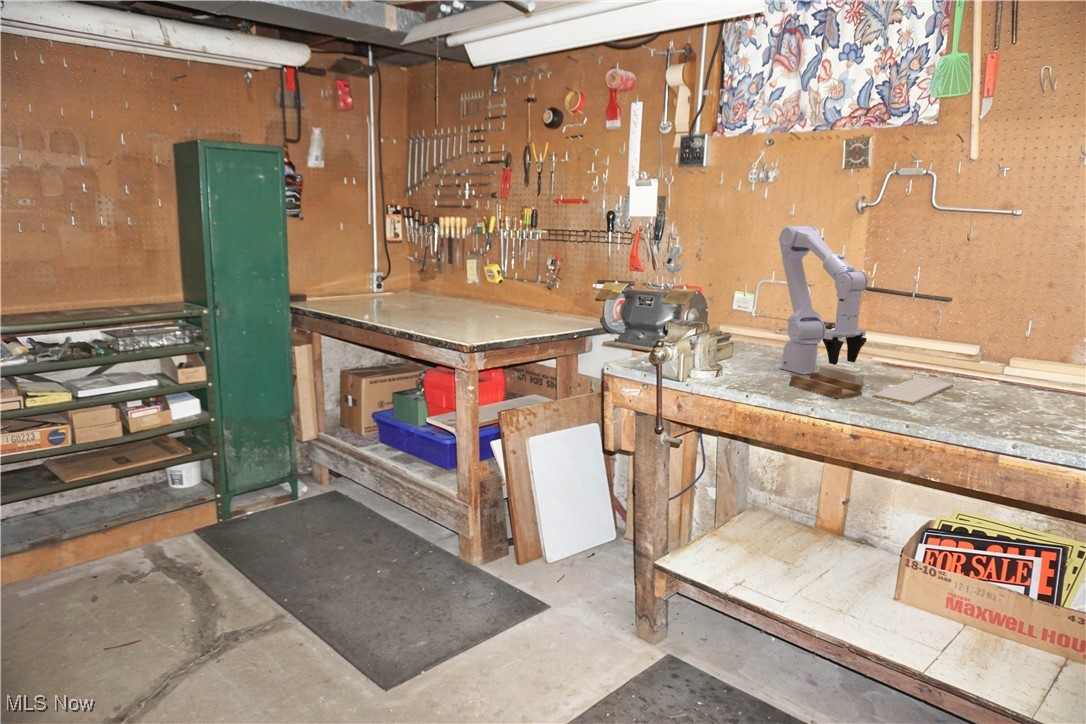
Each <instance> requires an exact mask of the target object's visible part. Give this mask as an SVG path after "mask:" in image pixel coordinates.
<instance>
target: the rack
mask: <svg viewBox="0 0 1086 724" xmlns="http://www.w3.org/2000/svg"><path fill="white" fill-rule="evenodd" d="M788 386H790V387H793V386H794V388H798V389H800V388H801V390H804V389H805V390H804V391H807V390H809V391H808V392H811V391H813V392H812V393H814V392H816V393H815V394H817V393H820V394H819V395H821V394H823V395H822V396H824V395H827V396H826V397H828V396H831V397H834V398H833V399H835V398H842V399H845V398H844V397H849V398H852V397H851V396H855V397H859V396H858V395H861V396H862V395H863V394H862V393H863V391H862V388H861V386H862V385H861V384H857V383H853V382H849V381H846V380H842V379H838V378H834V377H830V376H826V375H823V374H819V373H815V372H810V374H809V377H805V376H803V375H802V376H801V375H798V374H795V373H794V374H793V373H792V374H791V375H790V381H789V382H788ZM831 397H830V398H831Z"/></svg>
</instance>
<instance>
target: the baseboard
mask: <svg viewBox="0 0 1086 724" xmlns="http://www.w3.org/2000/svg"><path fill="white" fill-rule="evenodd" d="M916 374H917V373H916V372H914V375H916ZM914 375H911V378H913V377H914ZM917 375H918V376H919V377H916V378H914V379H913V380H911V379H908V380H906V381H903V382H901V383H898V384H896V385H892V386H891V387H887V388H886V389H883V390H881V391H878V392H876V393H873V394H871V395H869V397H870V396H872V397H871V398H873V397H877V398H876V399H878V398H882V399H881V400H883V399H887V400H886V401H888V400H892V401H891V402H893V401H897V402H896V403H898V402H901V403H900V404H903V403H905V404H904V405H908V404H910V405H909V406H913V404H914V405H915V403H916V404H918V403H920V402H922V401H924V399H925V400H927V399H929V398H931V397H933V396H935V395H937V393H938V394H940V393H942V392H944V391H946V390H948V389H951V388H953V387H954V383H953V382H954V379H952V380H951V379H950V381H951V382H952V383H951V382H948V379H946V378H944V380H946V381H947V382H946V381H939V380H935V379H936V378H938V377H937V375H934V374H929V375H928V377H932V378H935V379H934V380H933V379H928V378H925V377H923V378H922V377H920V374H917ZM922 376H925V375H924V374H923V375H922ZM939 379H940V380H941V379H942V378H941V377H939ZM909 380H910V381H909ZM952 386H953V387H952ZM950 387H951V388H950ZM947 388H948V389H947ZM945 389H946V390H945ZM943 390H944V391H943ZM941 391H942V392H941ZM939 392H940V393H939ZM930 396H931V397H930ZM928 397H929V398H928ZM926 398H927V399H926ZM921 400H922V401H921ZM919 401H920V402H919ZM917 402H918V403H917Z"/></svg>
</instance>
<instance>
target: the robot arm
mask: <svg viewBox="0 0 1086 724" xmlns="http://www.w3.org/2000/svg"><path fill="white" fill-rule="evenodd" d="M778 242H779V247H780V252H781V261H782V264H783V270H784V274H785V275H784V276H785V279H786V283H787V288H788V293H789V298H790V303H791V306H792V314H791V315H790V316H789V317H788V318H787V336H788V338H789V340H788V341H786V343H785V344H784V346H783V351H782V360H781V366H780V367H779V369H782V370H785V371H789V372H791V373H792V372H793V373H796V374H800V375H810V372H815V373H819V370H820V369H816V368H817V366H816V365H817V359H818V357H817V356H818V349H819V344H820V343H821V340H822V342H823V344H824V346H825V349H826V352H827V353H826V354H827V359H828V364H829V365H835V366H836V365H838V361H839V358H840V352H841V349H842V347H843V345H844V343H845V341H846V348H847V351H846V359H847V362H850V363H856V361H857V358H858V355H859V353H860V351H861V349H862V348H863V346H864V345H865V343H866V342H867V339H868V338H867V337H866V332H867V329H865V328H864V329H863V328H858V326H859V317H860V307H861V299H862V292H864V291H865V290H866V289H867V287H868V283H869V281H868V277H867V275H866V274H865V272H864V271H862V270H857V269H855V267H854V266H853V265H851V264H850V263H849V262H848V261H847V260H846V259H845V255H844V254H840V253H834V252H833V251H832V250H831V249H830V247H829V246H828V244H826V242H825V241H824V240H823V239H822V237H821V232H820V231H819V230H818V229H817V227H815V226H813V225H807V226H806V225H801V226H800V225H796V226H795V225H788V224H787V225H785V226H784V227H783V228H782V230H781V231H780V234H779V236H778ZM810 251H811V252H812V253H813V254H814V255H815V256H816V257H818V259H820V261H822V263H823V264H822V268H823V270H825V272H826V273H827V274H828V275H829V276H830V277H831V278H832V280H833V281H834V287H835V289H836V296H837V297H836V298H837V305H836V315H835V323H834V324H835V325H834V329H832V330H828V331H827V329H826V328H827V327H826V324H825V323H824V321H823V319H822V317H821V314H820V313H819V312H817V311H816V310H815V309H814V308H813V304H812V300H811V295H810V290H809V287H808V286H809V285H808V282H807V278H806V277H807V276H806V274H805V269H804V264H803V259H804V257H806V256H807V255H808V254H809V253H810ZM842 338H843V339H845V341H842V340H840V339H842Z"/></svg>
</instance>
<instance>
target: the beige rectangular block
mask: <svg viewBox="0 0 1086 724" xmlns="http://www.w3.org/2000/svg"><path fill="white" fill-rule="evenodd" d="M818 370H819V374H823V375H826V376H830V377H834V378H838V379H842V380H846V381H849V382H853V383H857V384H861V385H862V386H861V387H863V388H864V381H865V374H864V373H860V372H855V371H854V370H853V371H851V370H848V369H844V368H840V367H835V366H831V365H822V366H819V369H818Z"/></svg>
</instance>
